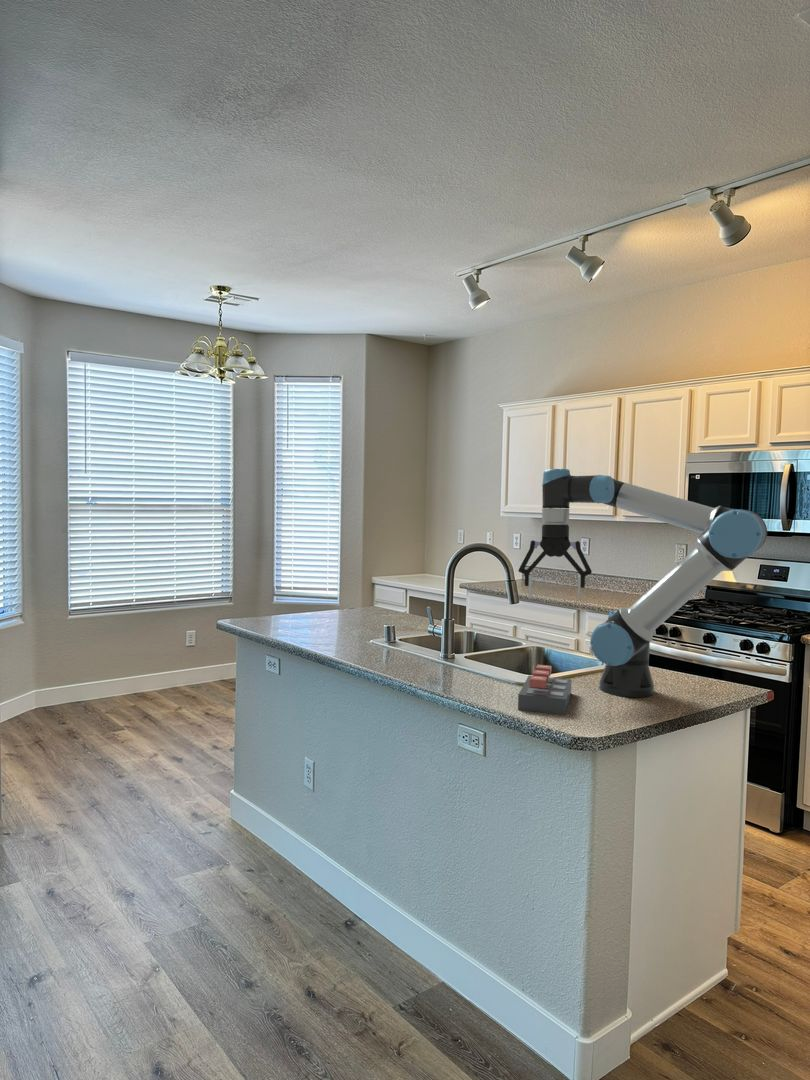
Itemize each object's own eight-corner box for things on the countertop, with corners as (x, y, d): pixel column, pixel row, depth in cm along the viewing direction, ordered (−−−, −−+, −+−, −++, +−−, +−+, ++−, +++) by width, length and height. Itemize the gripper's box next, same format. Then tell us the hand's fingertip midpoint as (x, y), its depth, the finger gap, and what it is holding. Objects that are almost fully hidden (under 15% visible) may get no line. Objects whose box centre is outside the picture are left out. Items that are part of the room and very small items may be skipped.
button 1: (551, 672, 209) (551, 665, 209) (550, 676, 206) (550, 668, 205) (537, 671, 210) (537, 664, 210) (535, 674, 207) (535, 667, 207)
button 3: (546, 684, 196) (546, 676, 196) (545, 688, 192) (545, 680, 192) (531, 683, 197) (531, 675, 197) (529, 686, 193) (529, 678, 193)
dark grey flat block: (571, 690, 213) (572, 676, 213) (565, 714, 189) (565, 698, 189) (529, 686, 216) (530, 672, 216) (517, 709, 192) (518, 693, 192)
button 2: (549, 678, 203) (549, 670, 203) (547, 681, 199) (547, 674, 199) (534, 677, 204) (534, 669, 204) (532, 680, 200) (532, 672, 200)
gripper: (600, 523, 211) (599, 598, 212) (512, 522, 217) (511, 595, 218) (601, 524, 204) (599, 601, 205) (509, 523, 210) (508, 598, 211)
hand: (554, 598), depth 212 cm, fingers open, 13 cm apart
